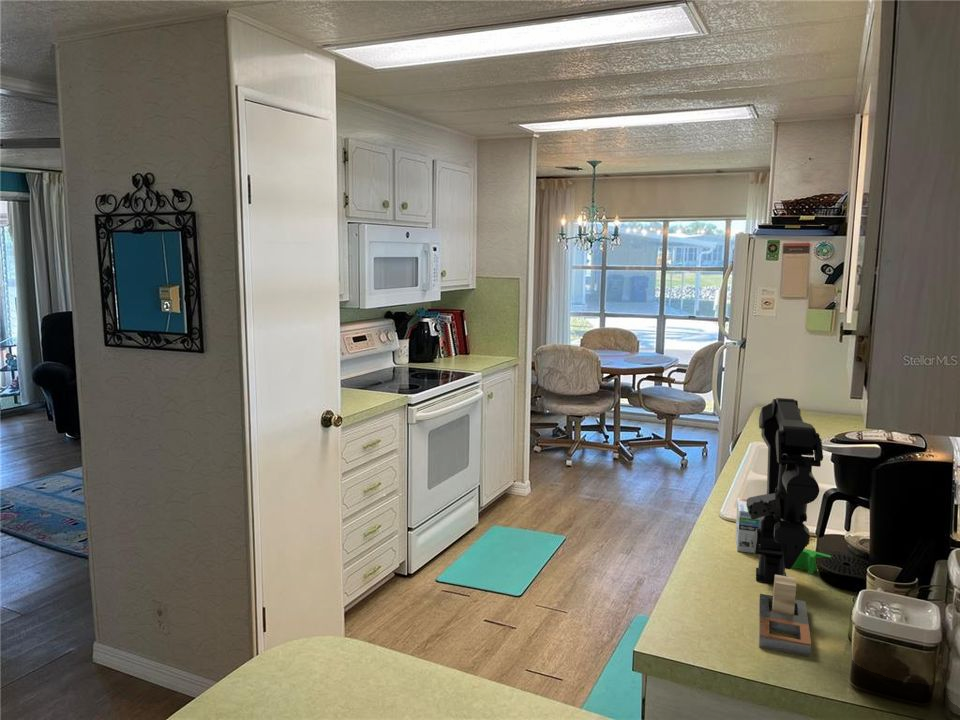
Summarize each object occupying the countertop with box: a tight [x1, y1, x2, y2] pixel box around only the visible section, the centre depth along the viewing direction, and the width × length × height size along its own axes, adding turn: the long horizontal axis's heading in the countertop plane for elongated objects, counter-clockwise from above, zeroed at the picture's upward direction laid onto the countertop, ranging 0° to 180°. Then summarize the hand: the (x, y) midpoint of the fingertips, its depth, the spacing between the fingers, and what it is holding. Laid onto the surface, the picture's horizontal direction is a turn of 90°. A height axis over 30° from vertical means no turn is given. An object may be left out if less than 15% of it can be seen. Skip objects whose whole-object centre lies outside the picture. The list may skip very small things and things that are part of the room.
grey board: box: [758, 593, 812, 658], centre depth 146 cm, size 19×9×2 cm, turn 159°
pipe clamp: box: [790, 548, 832, 575], centre depth 173 cm, size 11×4×5 cm, turn 49°
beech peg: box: [771, 575, 797, 615], centre depth 150 cm, size 4×4×8 cm
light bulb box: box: [734, 497, 761, 554], centre depth 185 cm, size 11×7×11 cm, turn 164°
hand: (786, 559), depth 149 cm, fingers open, 9 cm apart
